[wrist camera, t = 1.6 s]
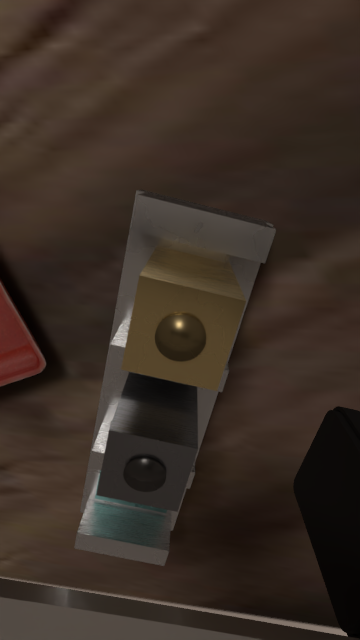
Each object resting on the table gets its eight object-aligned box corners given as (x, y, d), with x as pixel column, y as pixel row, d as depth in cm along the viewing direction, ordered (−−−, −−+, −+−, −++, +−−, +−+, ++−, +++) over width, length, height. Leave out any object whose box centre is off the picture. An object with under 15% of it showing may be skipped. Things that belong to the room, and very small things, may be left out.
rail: (266, 221, 22) (286, 231, 17) (174, 510, 31) (170, 567, 27) (141, 189, 21) (126, 191, 17) (86, 492, 31) (67, 546, 26)
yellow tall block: (230, 263, 21) (246, 302, 14) (210, 330, 22) (217, 393, 16) (157, 245, 20) (138, 276, 14) (142, 314, 22) (119, 371, 15)
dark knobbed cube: (197, 375, 24) (198, 451, 17) (181, 427, 25) (177, 515, 19) (132, 361, 23) (108, 432, 17) (121, 414, 25) (95, 498, 18)
